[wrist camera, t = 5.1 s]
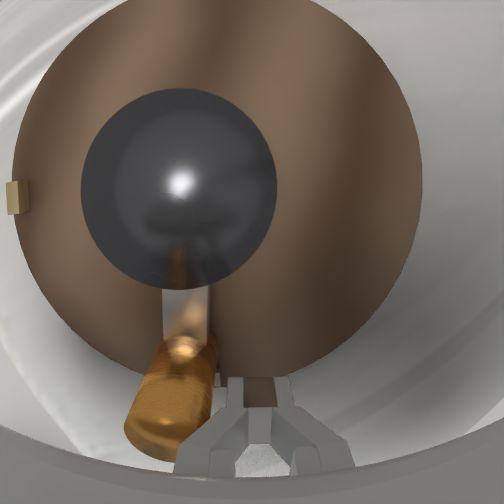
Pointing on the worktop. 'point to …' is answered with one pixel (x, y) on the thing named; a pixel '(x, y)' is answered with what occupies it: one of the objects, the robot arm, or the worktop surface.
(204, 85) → the dial plate
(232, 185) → the dial pointer
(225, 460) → the robot arm
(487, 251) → the worktop surface
